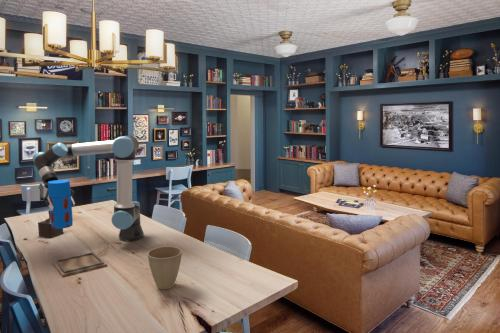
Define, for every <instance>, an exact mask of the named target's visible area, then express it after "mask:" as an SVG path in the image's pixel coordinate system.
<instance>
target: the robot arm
mask: <svg viewBox="0 0 500 333" xmlns="http://www.w3.org/2000/svg"><path fill="white" fill-rule="evenodd" d="M139 146H140V143H139V141H138V139H137V138H136V137H135V136H133V135H124V136H123V135H121V136H118V137H116V138H115V139H110V140H100V141H90V142H89V141H88V142H80V143H79V142H78V143H67V144H66V143H65V144H64V143H62V142H57V143H55V144H54V145H52V147H50V148H49V149H48V150H46V151H45V152H44V151H39V152H37V153H34V155H33V156H32V161H33V165H34V166H35V167H36V169H37V172H38V174H39V176H40V179H41V182H42V183H40V184H39V186H38V189H39V201H40V202H44V203H45V205H46V206H48V207H49V210H51V211H52V210H53V208H54V207H53V205H52V203H51V201H50V199H49V194H48V182H50V181H54V180H59V179H58V176H57V174H56V172H55V170H54V167H53V166H52V165H53V164H55V162H57V161H59V160H60V159H65V158H70V157H78V156H79V157H80V156H89V155H101V154H110V153H111V154H112V153H113V159H114V161H115V162H116V203H114V205H113V214H112V216H111V223H112V225H113V226H114V227H115V228H116V229H118V230H119V233H118V240H119V241H122V242H124V241H125V242H132V241H133V242H134V241H139V240H141V239H143V238H144V237H145V233H144V230H143V227H142V225H141V204H140V202H139V201H137V200H136V201H135V200H134V201H133V163H134V161H135V160H136V153H137V152H138V150H139ZM44 188H46V189H47V190H46V193H45V196H44ZM70 191H71V204H72V208H73V207H75V205H76V202H75V197H74V195H75V193H76V192H75V191H74V189H73V188H71V187H70Z"/></svg>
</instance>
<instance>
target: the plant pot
mask: <svg viewBox="0 0 500 333" xmlns="http://www.w3.org/2000/svg"><path fill="white" fill-rule="evenodd" d="M182 253H183V252H182V249H181V248H179V247H176V246H167V245H166V246H158V247H155V248H152V249H150V250H148V252H147V259H148V264H149V268H150V272H151V276H152V278H153V281H154V283H155V285H156V287H157V288H158V289H159V290H170V289H172V288H173V287H174V285H175V283H176V280H177V278H178V274H179V271H180V266H181V261H182Z"/></svg>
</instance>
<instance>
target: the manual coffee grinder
mask: <svg viewBox="0 0 500 333" xmlns="http://www.w3.org/2000/svg"><path fill="white" fill-rule="evenodd" d="M37 228H38V237H39V238H44V239H53V238H55V237H58V236H61V235H63V234H64V228H63V229H53V228H52V226H51V218H50V209H49V210H48V218H46V219H45V220H43V221H38V222H37Z"/></svg>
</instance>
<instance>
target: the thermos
mask: <svg viewBox="0 0 500 333" xmlns="http://www.w3.org/2000/svg"><path fill="white" fill-rule="evenodd" d="M70 188H71V182H70V180H69V179H58V180H54V181H50V182H48V194H49V195H48V198H49V199H50V201H51V203H52V205H53V207H54V208H53V210H52V211H51V210H50V209H49V210H50V218H51V226H52V228H53V229H63V230H64V229H67V228H71V227H72V226H73V225H74V223H73V221H74V220H73V207H72V204H71V191H70Z"/></svg>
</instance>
